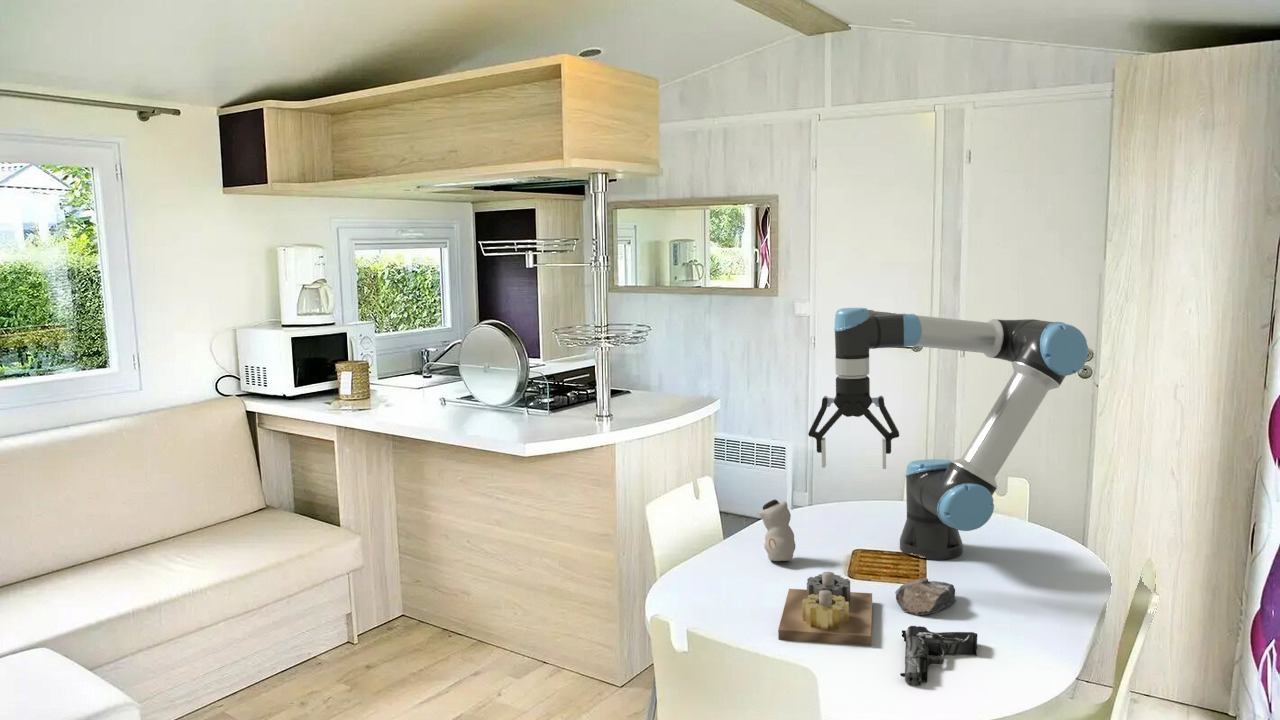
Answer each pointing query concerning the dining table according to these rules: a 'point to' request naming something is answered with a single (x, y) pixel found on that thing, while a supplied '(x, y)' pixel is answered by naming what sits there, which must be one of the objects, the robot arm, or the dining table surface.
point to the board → (850, 634)
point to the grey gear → (838, 589)
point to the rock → (925, 596)
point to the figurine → (778, 531)
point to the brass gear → (825, 612)
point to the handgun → (932, 650)
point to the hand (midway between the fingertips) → (853, 467)
